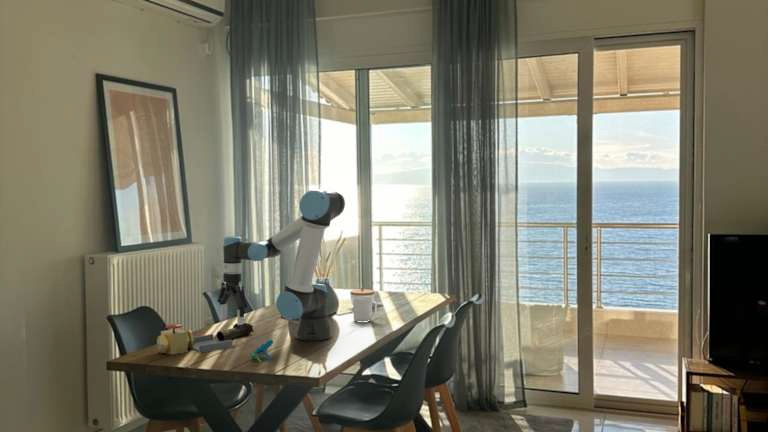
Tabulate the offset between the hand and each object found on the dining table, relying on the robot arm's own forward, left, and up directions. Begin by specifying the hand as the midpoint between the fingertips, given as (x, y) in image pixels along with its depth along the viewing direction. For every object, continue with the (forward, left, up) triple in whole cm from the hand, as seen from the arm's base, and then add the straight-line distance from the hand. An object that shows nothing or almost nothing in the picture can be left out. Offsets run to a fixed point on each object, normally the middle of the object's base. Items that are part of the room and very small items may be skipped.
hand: (232, 321), depth 293 cm
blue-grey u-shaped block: (-8, +17, -6) cm, 20 cm away
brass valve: (-8, +31, -6) cm, 33 cm away
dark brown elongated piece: (-2, 0, -7) cm, 7 cm away
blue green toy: (-42, +13, -7) cm, 44 cm away
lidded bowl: (+12, -85, -7) cm, 86 cm away
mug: (-15, -63, -7) cm, 65 cm away
